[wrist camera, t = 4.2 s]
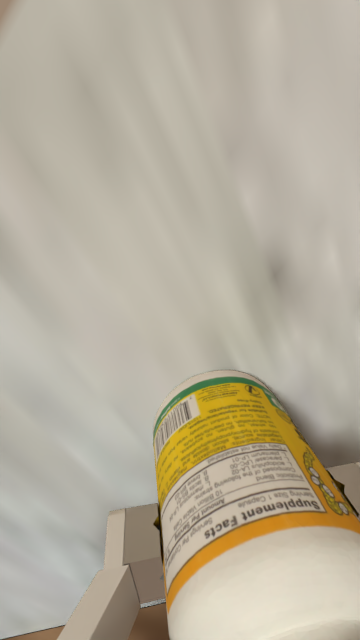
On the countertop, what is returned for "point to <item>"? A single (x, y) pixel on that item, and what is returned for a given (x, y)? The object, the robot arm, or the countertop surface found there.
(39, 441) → the countertop surface
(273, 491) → the supplement bottle
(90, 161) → the countertop surface
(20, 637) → the base brick
